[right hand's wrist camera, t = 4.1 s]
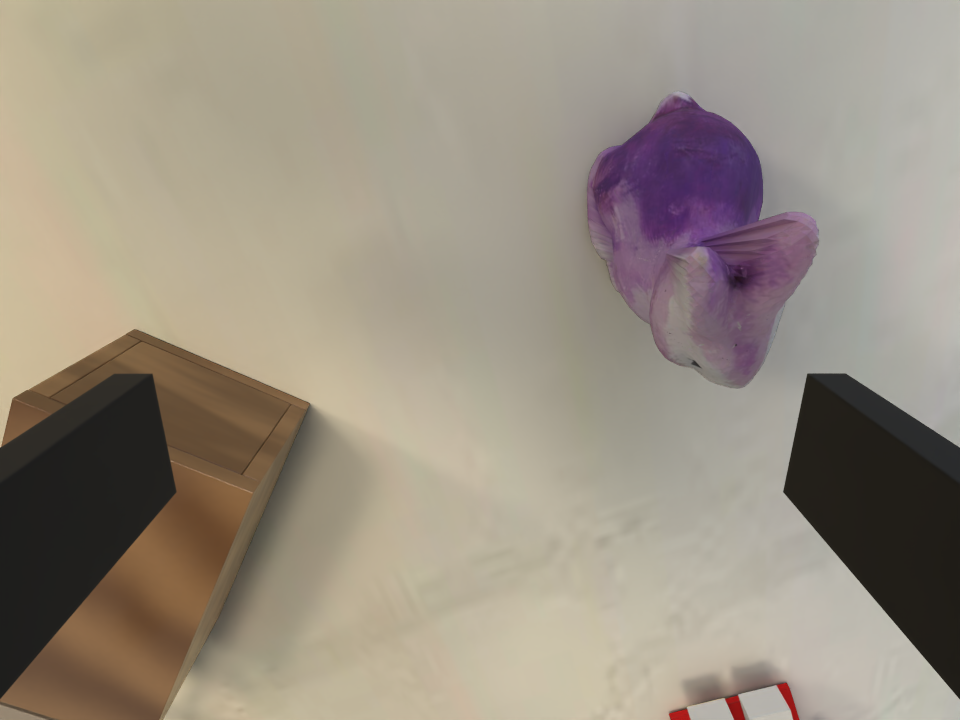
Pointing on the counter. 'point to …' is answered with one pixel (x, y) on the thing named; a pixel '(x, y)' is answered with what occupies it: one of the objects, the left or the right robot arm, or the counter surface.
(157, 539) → the cabinet
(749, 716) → the toy
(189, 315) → the counter surface
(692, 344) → the figurine
